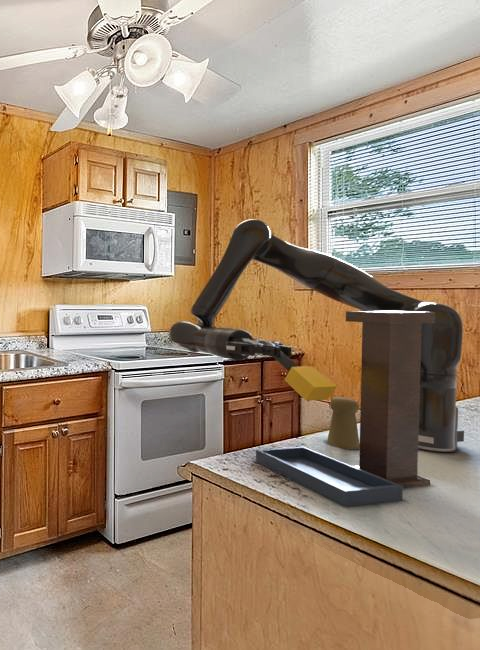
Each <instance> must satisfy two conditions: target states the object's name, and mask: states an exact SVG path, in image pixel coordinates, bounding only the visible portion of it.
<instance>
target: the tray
mask: <svg viewBox="0 0 480 650" xmlns="http://www.w3.org/2000/svg"><path fill="white" fill-rule="evenodd" d="M255 462H256V463H258V464H260V465H263V466H264V467H266V468H268V469H271V470H272V471H274V472H277V473H278V474H280V475H282V476H284V477H286V478H288V479H290V480H292V481H294V482H296V483H298V484H299V485H302V486H304V487H306V488H308V489H310V490H312V491H314V492H316V493H318V494H320V495H322V496H324V497H326V498H327V499H330V500H332V501H334V502H336V503H337V504H340V505H342V506H344V507H350V506H360V505H370V504H380V503H390V502H401V501H404V488H403V486H401V485H399V484H396V483H394V482H391V481H389V480H386V479H384V478H381V477H379V476H376V475H374V474H371V473H369V472H366V471H364V470H361V469H359V468H356V467H354V466H355V465H351V464H348V463H346V462H343V461H340V460H338V459H336V458H334V457H331V456H329V455H326V454H323V453H321V452H319V451H316V450H314V449H311V448H309V447H306V446H303V445H301V446H291V447H290V446H289V447H287V446H286V447H275V448H262V449H255Z"/></svg>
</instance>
